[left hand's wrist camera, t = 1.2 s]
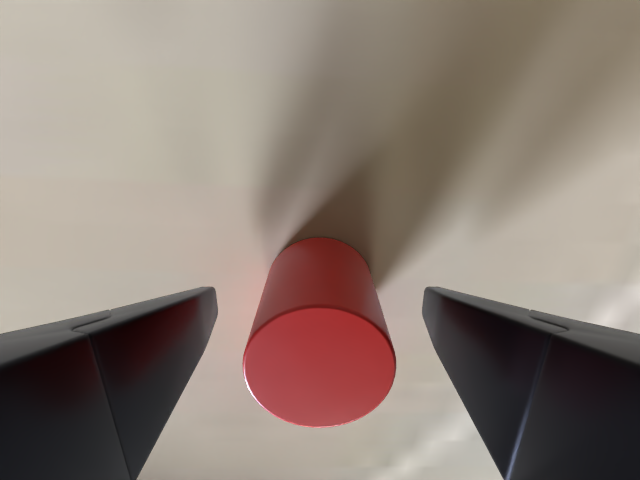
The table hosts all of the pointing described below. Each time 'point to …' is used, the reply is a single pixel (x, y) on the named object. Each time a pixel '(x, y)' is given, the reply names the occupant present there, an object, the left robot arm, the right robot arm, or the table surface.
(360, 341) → the red cylinder
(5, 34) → the table surface
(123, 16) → the table surface
